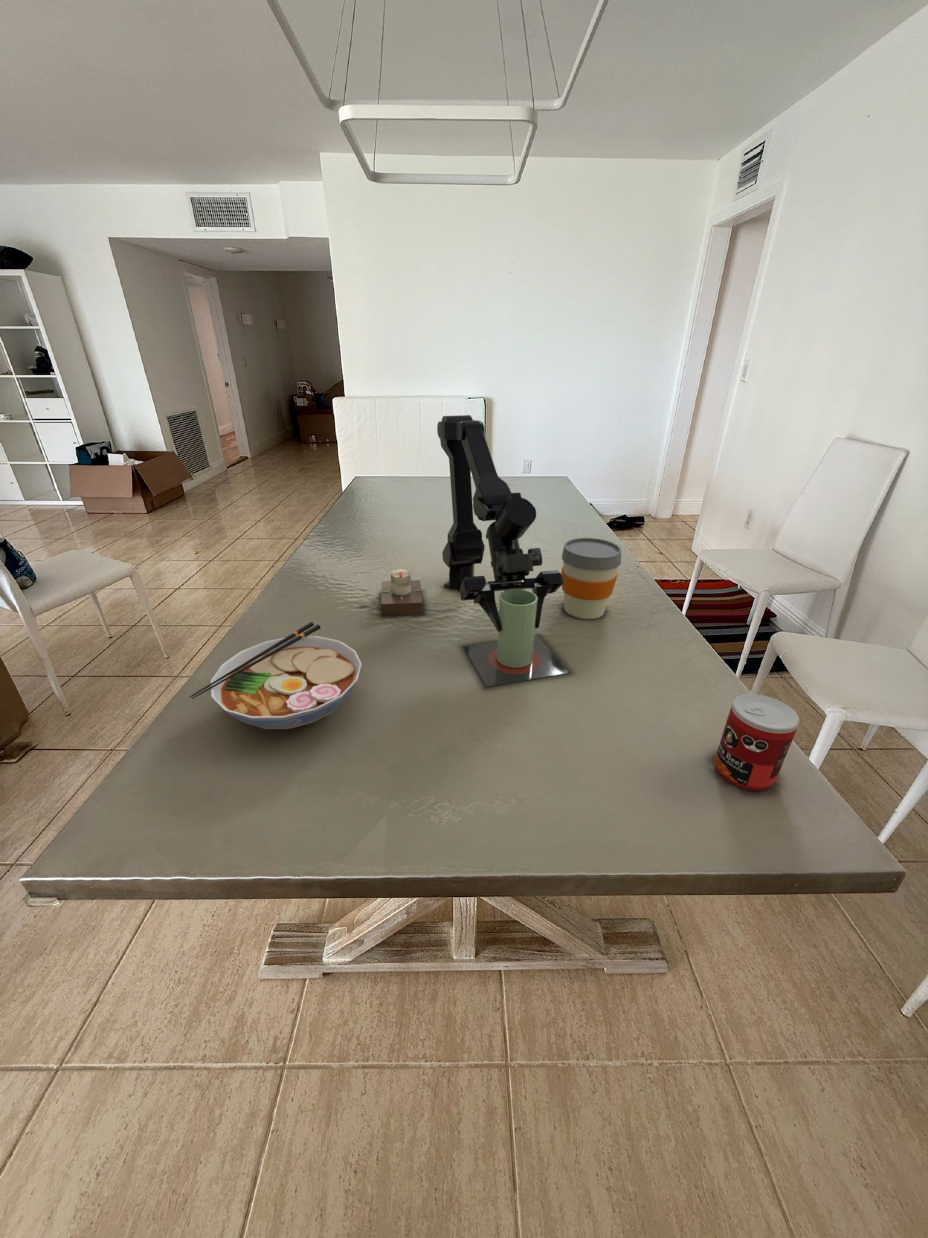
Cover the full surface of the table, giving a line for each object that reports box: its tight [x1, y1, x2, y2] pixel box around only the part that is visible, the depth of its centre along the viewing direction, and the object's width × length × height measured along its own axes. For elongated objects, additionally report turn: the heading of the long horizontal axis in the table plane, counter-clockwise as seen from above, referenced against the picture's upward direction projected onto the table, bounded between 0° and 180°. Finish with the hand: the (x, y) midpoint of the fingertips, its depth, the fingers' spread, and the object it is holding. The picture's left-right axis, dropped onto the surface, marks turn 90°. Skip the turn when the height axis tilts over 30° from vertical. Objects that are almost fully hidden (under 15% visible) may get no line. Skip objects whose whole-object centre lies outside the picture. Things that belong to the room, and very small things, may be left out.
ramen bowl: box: [189, 621, 363, 730], centre depth 84 cm, size 25×23×8 cm
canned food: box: [714, 693, 800, 791], centre depth 72 cm, size 8×8×11 cm
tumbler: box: [496, 589, 538, 668], centre depth 96 cm, size 7×7×13 cm
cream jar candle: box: [390, 569, 412, 595], centre depth 117 cm, size 4×4×5 cm
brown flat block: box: [380, 579, 424, 617], centre depth 119 cm, size 12×9×3 cm
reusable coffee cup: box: [560, 537, 622, 620], centre depth 115 cm, size 13×13×15 cm
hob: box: [463, 635, 570, 688], centre depth 99 cm, size 14×16×1 cm
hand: (518, 629), depth 95 cm, fingers closed on tumbler, 7 cm apart
